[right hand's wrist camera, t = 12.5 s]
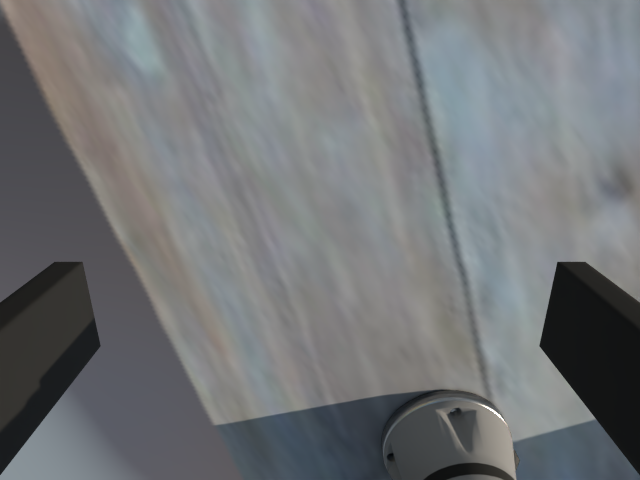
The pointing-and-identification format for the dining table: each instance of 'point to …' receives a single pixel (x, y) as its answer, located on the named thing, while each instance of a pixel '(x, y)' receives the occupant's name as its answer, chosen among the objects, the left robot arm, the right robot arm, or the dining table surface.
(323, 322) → the dining table surface
